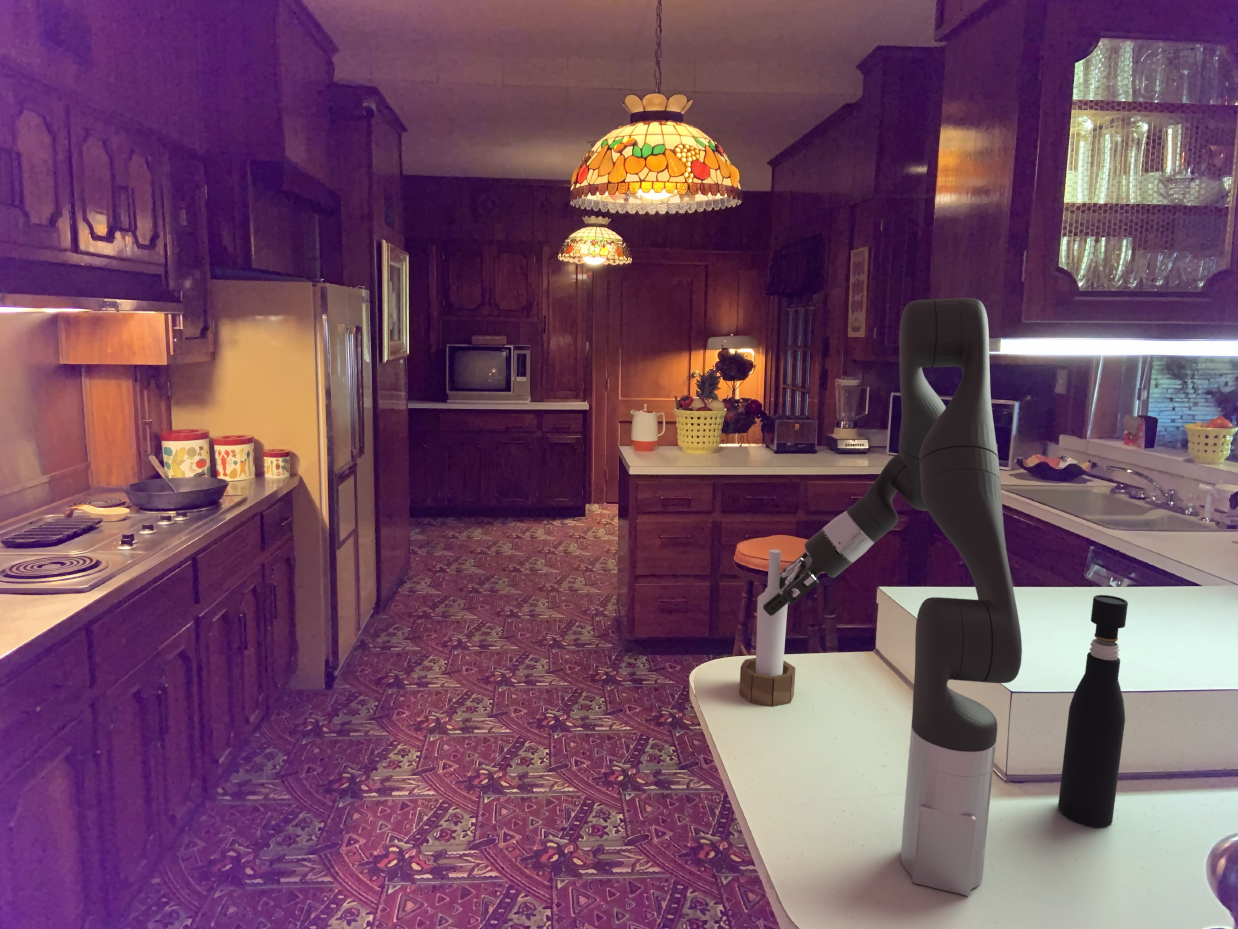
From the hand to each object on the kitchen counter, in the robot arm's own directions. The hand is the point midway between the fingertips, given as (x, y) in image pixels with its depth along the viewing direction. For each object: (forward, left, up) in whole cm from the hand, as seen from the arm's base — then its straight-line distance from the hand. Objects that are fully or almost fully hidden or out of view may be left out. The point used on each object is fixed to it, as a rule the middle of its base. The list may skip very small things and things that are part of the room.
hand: (767, 603), depth 145 cm
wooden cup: (0, -1, -17) cm, 17 cm away
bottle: (0, -1, -16) cm, 16 cm away
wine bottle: (-20, -48, -17) cm, 54 cm away
